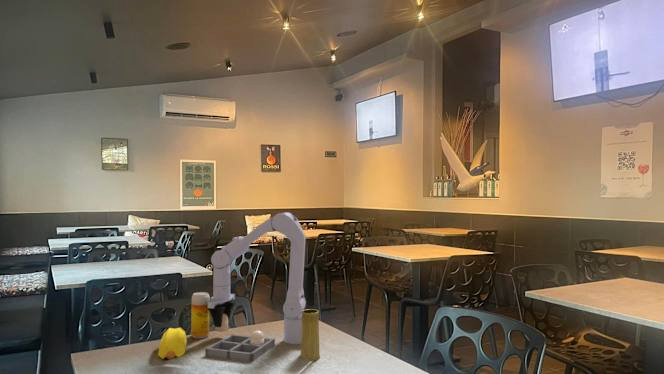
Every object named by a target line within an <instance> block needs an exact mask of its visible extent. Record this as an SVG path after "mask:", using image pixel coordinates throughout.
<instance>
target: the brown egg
mask: <svg viewBox="0 0 664 374" xmlns="http://www.w3.org/2000/svg"><path fill="white" fill-rule="evenodd" d="M214 331H215V332H220V333H221V332H227V331H229V323H228V316H227V315H226V314H224V313H223V316H222V324H221V327H215V326H214Z"/></svg>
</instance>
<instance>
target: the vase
mask: <svg viewBox="0 0 664 374" xmlns="http://www.w3.org/2000/svg"><path fill="white" fill-rule="evenodd" d="M319 315H320V313H319V310H318V309H314V308H313V309H311V308H309V309H303V311H302V335H301V344H300V357H301V358H303V359H309V360H310V362H314V361H317V360H318V361H319V360H320V358H321V355H320V354H321V353H320V327H319V326H320V325H319V324H320V323H319V318H320V316H319Z"/></svg>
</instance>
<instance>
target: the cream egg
mask: <svg viewBox="0 0 664 374" xmlns="http://www.w3.org/2000/svg"><path fill="white" fill-rule="evenodd" d="M264 334H265V333H264V332H263V331H261V330H259V329H257V330H254V331H252V332H251V334H250V335H249V336H250V344H254V345H263V344H264V338H265V335H264Z"/></svg>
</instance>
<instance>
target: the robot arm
mask: <svg viewBox="0 0 664 374" xmlns="http://www.w3.org/2000/svg"><path fill="white" fill-rule="evenodd" d="M275 231H276V232H278V233H280V234H282V235H284V236H285V237H286V238H287V239H288V240H289V241H290V250H289V251H290V254H289V255H290V256H289V270H288V271H289V272H288V287H287V293H286V298H285V302H284V303H283V306H282V311H283V342H284V343H285V344H287V345H288V344H289V345H301V335H302V311H303V310H305V308H306V305H307V301H306V297H305V291H304V274H305V273H304V272H305V255H306V241H307V240H306V239H307V238H306V237H307V236H306V233H305V232H304V230H303V228H302V226H301V224H300V222H299V219H298V218H297V217H296V216H295V215H293V213H291V212H288V211H284V212H281V213H276V214H275V215H274V216H272V217H270V218H268V219H266V220H264V221H262V222H261V223H260V224H259V225H258V226H256V227H255V228H254V229H253V230H252V231H250V232H249V233H248V234H247V235H245V236H241V235H240V236H234V237H232V239H231V240H232V241H230V242H229V243H227V244H226V245H223V246H221V247H220V248H221V249H220V250H216V251H214V253H213V254H211V258H210V261H211V264H212V266H213V273H212V274H213V276H212V277H213V279H212V280H213V283H212V284H213V286H212V287H213V289H212V290H213V292H212V295H213V296H211V297H210V302H208V310H209V314H210V315H211V317H212V318H211V319H212V321H213V325H214V328H215V327H221V324H222V316H223V313H224V314H226V315H227V316H228V324H229V322H230V318H231V315H232V312H233V309H234V306H235V305H236V302H235V301H234V300H236V299H235V298H236V294H235V293H231V264H232V263H233V261H235V260H236V259H238V258H239V257H241V255H244V254H245V253H246V252H248V251H249V249H250V245H251V244H252V243H254V242H255V241H257V240H258V239H260V238H261V237H263V236H264V235H266V234H268V233H272V232H275Z"/></svg>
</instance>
